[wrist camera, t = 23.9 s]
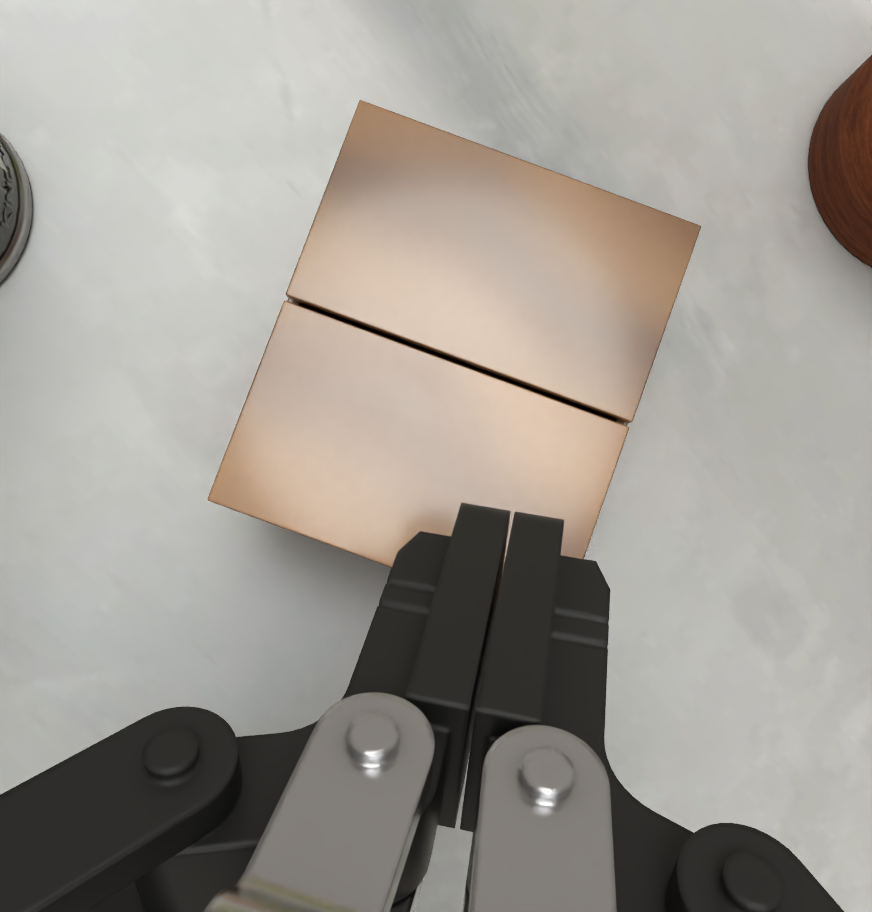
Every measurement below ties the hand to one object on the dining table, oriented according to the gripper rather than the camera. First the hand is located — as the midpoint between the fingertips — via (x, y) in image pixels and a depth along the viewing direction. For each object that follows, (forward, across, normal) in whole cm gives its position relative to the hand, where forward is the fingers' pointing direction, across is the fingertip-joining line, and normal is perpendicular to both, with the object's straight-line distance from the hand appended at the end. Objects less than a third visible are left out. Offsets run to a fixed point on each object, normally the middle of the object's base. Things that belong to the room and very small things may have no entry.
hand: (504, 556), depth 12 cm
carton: (+22, +4, +10) cm, 24 cm away
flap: (+12, +4, +7) cm, 14 cm away
